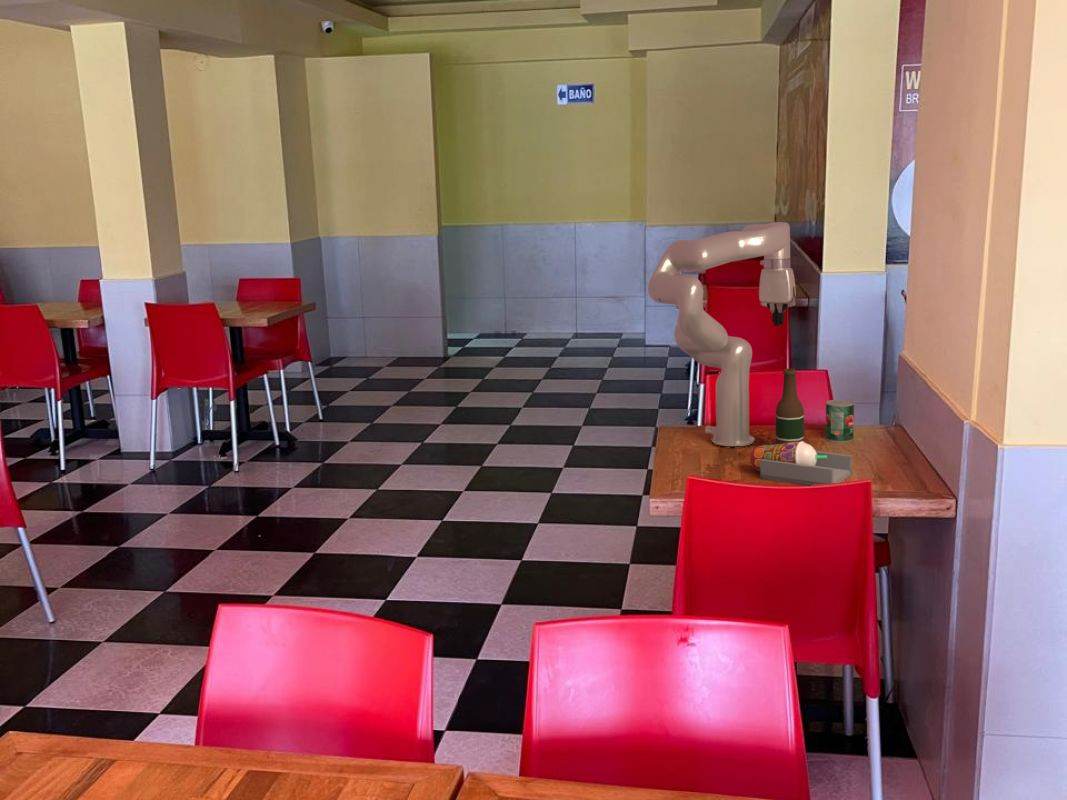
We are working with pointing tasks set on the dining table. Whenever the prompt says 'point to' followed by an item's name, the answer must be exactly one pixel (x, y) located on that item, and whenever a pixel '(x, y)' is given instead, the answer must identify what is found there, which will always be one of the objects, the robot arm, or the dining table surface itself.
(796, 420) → the beer bottle
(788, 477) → the cradle
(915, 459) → the dining table surface
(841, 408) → the canned tomato
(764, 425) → the dining table surface
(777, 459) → the smoothie
